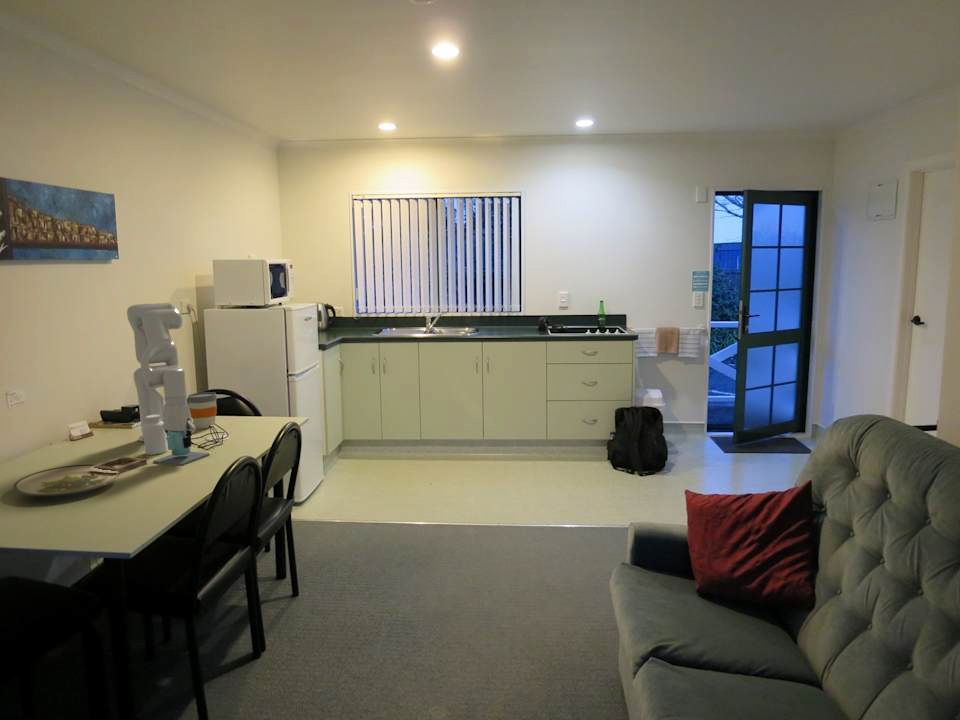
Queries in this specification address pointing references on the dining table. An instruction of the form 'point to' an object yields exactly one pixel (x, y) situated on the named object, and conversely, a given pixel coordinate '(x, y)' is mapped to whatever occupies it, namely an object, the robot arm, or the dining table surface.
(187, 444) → the robot arm
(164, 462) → the plate
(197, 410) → the reusable coffee cup
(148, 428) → the pill bottle
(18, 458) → the dining table surface
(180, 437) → the turquoise mug
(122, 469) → the brown square tray
